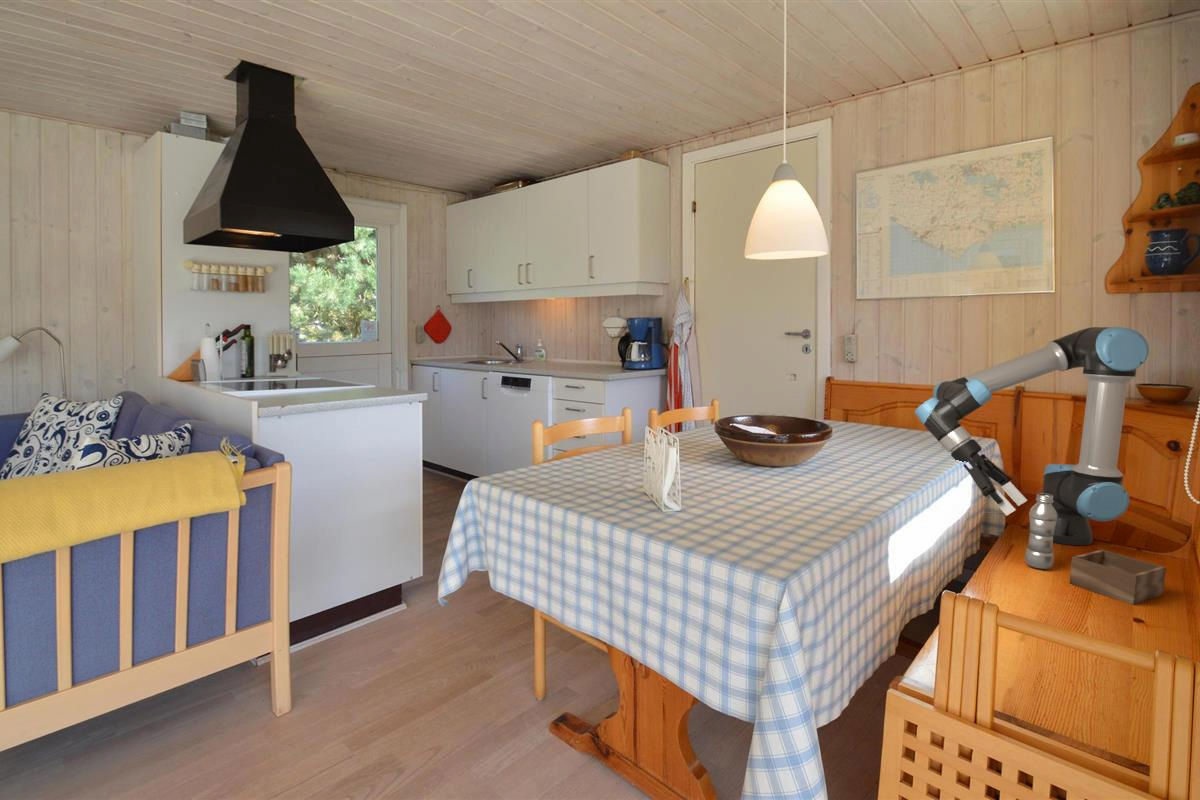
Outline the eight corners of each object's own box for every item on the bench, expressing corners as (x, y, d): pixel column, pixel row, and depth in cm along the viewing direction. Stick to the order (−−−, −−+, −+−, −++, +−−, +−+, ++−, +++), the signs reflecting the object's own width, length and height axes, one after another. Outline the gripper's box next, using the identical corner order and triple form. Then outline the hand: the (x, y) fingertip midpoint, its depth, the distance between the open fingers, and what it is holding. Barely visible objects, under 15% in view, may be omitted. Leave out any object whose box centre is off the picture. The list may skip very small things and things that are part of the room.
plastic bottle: (1021, 567, 172) (1028, 495, 170) (1026, 560, 177) (1033, 490, 175) (1050, 573, 168) (1057, 499, 166) (1054, 567, 173) (1061, 494, 171)
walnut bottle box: (1099, 575, 167) (1102, 549, 167) (1162, 595, 155) (1166, 567, 155) (1069, 583, 162) (1072, 557, 161) (1133, 605, 149) (1136, 576, 149)
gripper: (962, 448, 194) (1015, 506, 186) (936, 459, 176) (993, 524, 168) (984, 433, 190) (1039, 492, 181) (959, 443, 172) (1019, 509, 163)
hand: (1017, 507), depth 174 cm, fingers open, 13 cm apart
